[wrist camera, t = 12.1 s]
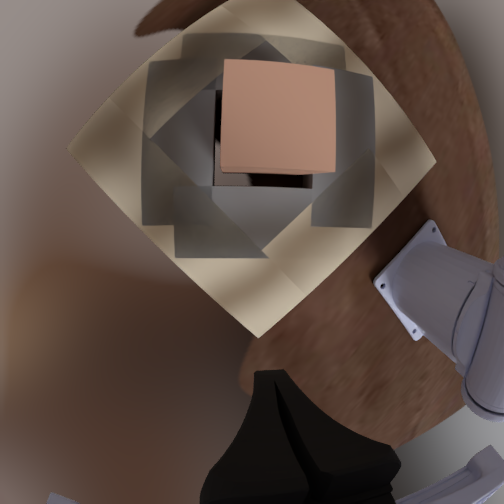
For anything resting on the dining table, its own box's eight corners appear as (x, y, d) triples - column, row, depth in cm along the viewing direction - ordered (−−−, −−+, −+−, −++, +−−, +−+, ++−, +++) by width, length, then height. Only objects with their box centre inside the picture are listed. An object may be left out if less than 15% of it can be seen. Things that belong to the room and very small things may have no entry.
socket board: (418, 162, 20) (436, 161, 18) (255, 321, 22) (258, 338, 20) (262, -4, 16) (266, -21, 13) (82, 151, 18) (65, 148, 15)
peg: (295, 108, 18) (334, 69, 11) (293, 175, 20) (335, 172, 12) (224, 104, 18) (224, 59, 10) (222, 173, 19) (220, 166, 11)
